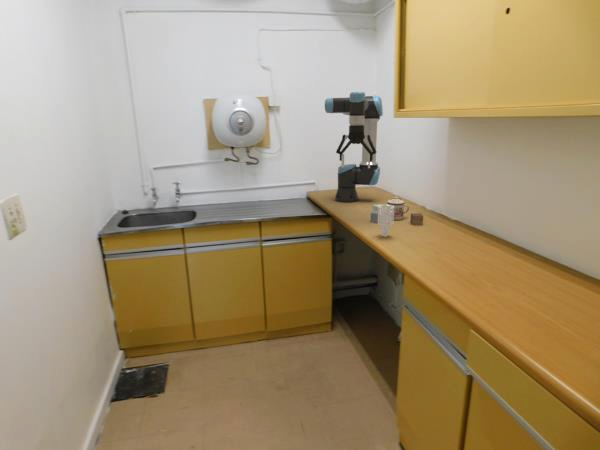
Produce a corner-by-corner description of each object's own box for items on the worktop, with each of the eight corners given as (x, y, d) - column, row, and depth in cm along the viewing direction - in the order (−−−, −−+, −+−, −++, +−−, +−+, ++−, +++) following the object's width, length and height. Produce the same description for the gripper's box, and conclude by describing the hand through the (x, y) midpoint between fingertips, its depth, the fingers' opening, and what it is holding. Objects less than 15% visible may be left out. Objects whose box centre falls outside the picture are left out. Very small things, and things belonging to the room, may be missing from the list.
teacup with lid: (389, 220, 196) (390, 198, 193) (384, 216, 205) (385, 195, 202) (411, 219, 197) (412, 198, 194) (405, 215, 206) (406, 194, 203)
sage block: (372, 213, 212) (372, 204, 211) (380, 212, 213) (381, 204, 212) (376, 215, 207) (376, 206, 206) (384, 214, 208) (384, 206, 207)
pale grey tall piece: (379, 238, 168) (380, 206, 163) (375, 233, 174) (376, 202, 170) (394, 237, 168) (396, 205, 164) (390, 233, 175) (391, 202, 171)
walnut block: (410, 222, 192) (410, 213, 191) (420, 222, 192) (420, 213, 191) (412, 225, 188) (413, 215, 186) (422, 225, 187) (423, 215, 186)
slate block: (373, 219, 199) (373, 210, 197) (382, 221, 196) (382, 211, 195) (370, 222, 194) (370, 212, 193) (379, 223, 192) (380, 213, 191)
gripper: (330, 125, 186) (330, 167, 192) (381, 124, 178) (379, 169, 184) (334, 124, 193) (333, 166, 199) (383, 124, 185) (381, 167, 191)
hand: (355, 167), depth 192 cm, fingers open, 13 cm apart
